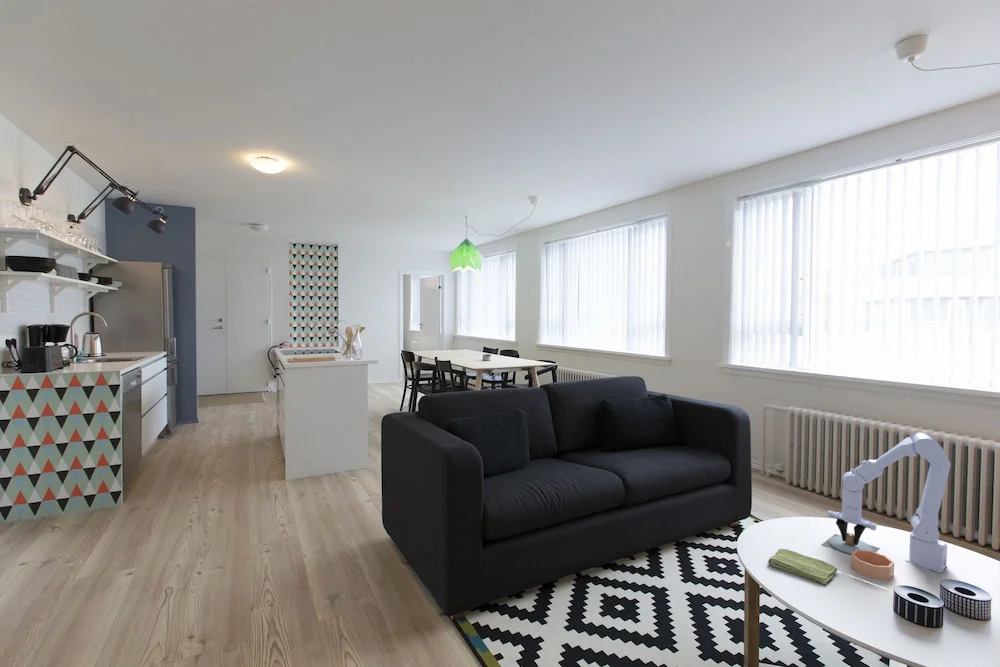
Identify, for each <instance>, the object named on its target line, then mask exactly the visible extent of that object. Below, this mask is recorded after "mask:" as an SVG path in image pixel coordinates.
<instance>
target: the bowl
mask: <svg viewBox="0 0 1000 667" xmlns="http://www.w3.org/2000/svg"><path fill="white" fill-rule="evenodd" d="M850 567H851V568H852V569H853V570H854V571H855V572H857V574H860V575H863V576H865V577H869V578H870V579H871V578H872V579H874V580H886V581H887V580H888V581H889V580H891V579H892V578H893V577H894V575H895V562H894V561H892V559H891V558H889V557H888V556H887V555H884V554H881V553H877V552H876V553H875V552H872V551H867V550H855V551H854V552H853V553H852V554H851V555H850Z"/></svg>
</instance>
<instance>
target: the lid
mask: <svg viewBox="0 0 1000 667" xmlns="http://www.w3.org/2000/svg"><path fill="white" fill-rule="evenodd" d="M832 536H833V535H832ZM832 536H830V537H829V538H828V539H829V544H830V545H831V546H832V547H834V548H835V549H837V550H839V551H842V552H845V553H848V554H852V553H853V552H854V551H855V550H867V551H872V552H873V549H872V547H871V546H870V545H871V544H868V543H867V542H865V541H863V540H860V539H859V543H858V545H854V538H855V534H854V533H850V532H847V533H846V538H845V541H843V540H842V535H840V536H833V537H832ZM839 551H838V552H839ZM842 552H841V553H842ZM845 553H844V554H845ZM848 554H847V555H848Z"/></svg>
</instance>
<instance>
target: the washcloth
mask: <svg viewBox="0 0 1000 667" xmlns="http://www.w3.org/2000/svg"><path fill="white" fill-rule="evenodd" d="M767 563H768V565H769V566H770V567H772V568H775V569H778V570H780V571H783V572H786V573H789V574H792V575H794V576H798V577H802V578H805V579H806V580H807V579H808V580H810V581H813V582H815V583H818V584H821V585H823V586H824V585H827V582H828V581H829V580H831V579H832V578H833V576H834V574H835V573H836V572H838V568H837V567H836V566H834V565H833V564H830V563H828V562H826V561H824V560H821V559H818V558H815V557H811V556H808V555H804V554H801V553H799V552H796V551H793V550H790V549H787V548H785V549H784V548H779V549H778V550H777V551H776V552H775V554H774V555H772V556H770V558H769V559H768V561H767Z"/></svg>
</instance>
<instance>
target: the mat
mask: <svg viewBox="0 0 1000 667" xmlns="http://www.w3.org/2000/svg"><path fill="white" fill-rule="evenodd" d="M833 536H841V534H836V533H834V534H833V535H832V536H831V537H833ZM869 545H870V546H871V547H872V549H873V552H875V553H877V552H878V551H879V550H880V549H881V548H880V547H878V546H876V545H875V546H874V545H871V544H869ZM821 546H822V547H825V548H828V549H831V550H834V551H837V552H839V553H843V554H845V555H849V556H851V554H848V553H845V552H842V551H839V550H837V549H835V548H834V547H832V546H831V545H830V544H829V538H828V539H827V540H826V541H824V542H823V543H822V544H821Z"/></svg>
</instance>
